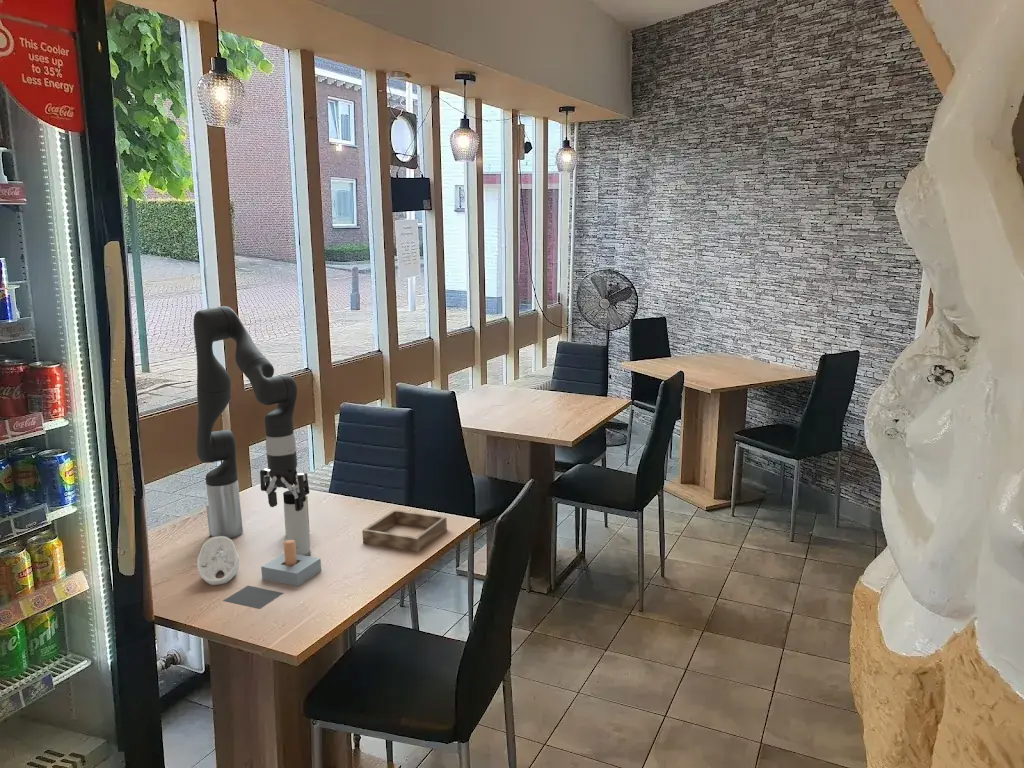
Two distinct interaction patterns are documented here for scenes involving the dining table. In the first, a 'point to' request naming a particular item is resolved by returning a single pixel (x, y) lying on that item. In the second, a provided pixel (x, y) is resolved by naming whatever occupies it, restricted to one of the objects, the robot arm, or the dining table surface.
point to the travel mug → (297, 524)
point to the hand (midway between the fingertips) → (286, 508)
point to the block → (291, 570)
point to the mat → (253, 597)
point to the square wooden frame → (378, 537)
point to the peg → (290, 553)
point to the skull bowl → (218, 560)
